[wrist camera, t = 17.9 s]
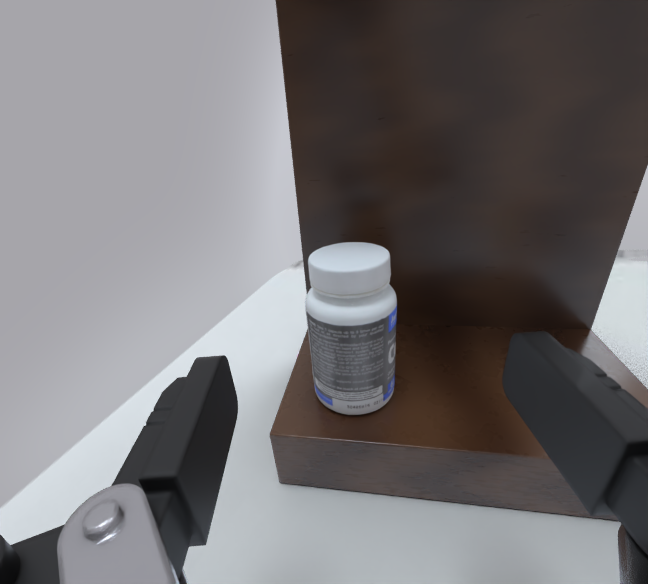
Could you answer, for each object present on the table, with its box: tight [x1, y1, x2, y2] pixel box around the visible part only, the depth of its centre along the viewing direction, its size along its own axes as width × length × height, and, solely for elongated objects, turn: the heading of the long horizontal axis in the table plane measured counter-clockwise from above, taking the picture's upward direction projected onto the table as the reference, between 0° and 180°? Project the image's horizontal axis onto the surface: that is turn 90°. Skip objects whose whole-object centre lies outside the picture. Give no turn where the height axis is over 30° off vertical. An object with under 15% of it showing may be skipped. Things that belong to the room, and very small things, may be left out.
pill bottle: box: [305, 242, 397, 415], centre depth 18 cm, size 5×5×8 cm
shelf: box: [270, 0, 648, 520], centre depth 17 cm, size 20×12×27 cm, turn 81°
